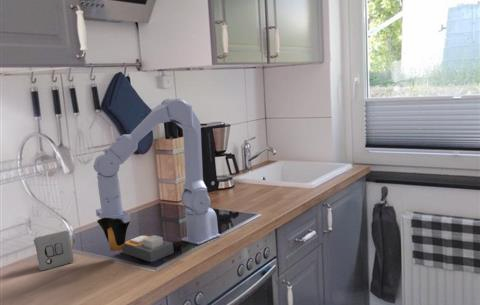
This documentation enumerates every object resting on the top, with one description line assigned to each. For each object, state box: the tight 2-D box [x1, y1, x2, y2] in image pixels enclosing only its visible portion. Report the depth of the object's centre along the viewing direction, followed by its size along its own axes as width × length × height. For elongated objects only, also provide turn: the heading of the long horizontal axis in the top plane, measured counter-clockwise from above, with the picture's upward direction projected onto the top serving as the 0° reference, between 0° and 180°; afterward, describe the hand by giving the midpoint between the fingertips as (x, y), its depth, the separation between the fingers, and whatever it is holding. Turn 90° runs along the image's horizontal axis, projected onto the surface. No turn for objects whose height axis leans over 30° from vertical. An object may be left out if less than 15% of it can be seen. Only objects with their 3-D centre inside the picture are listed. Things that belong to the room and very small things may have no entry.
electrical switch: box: [33, 230, 75, 271], centre depth 130 cm, size 9×5×9 cm, turn 124°
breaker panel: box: [122, 234, 175, 263], centre depth 133 cm, size 8×14×3 cm, turn 48°
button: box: [143, 235, 164, 249], centre depth 130 cm, size 4×4×3 cm
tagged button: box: [129, 235, 148, 245], centre depth 135 cm, size 4×4×3 cm
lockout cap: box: [107, 227, 124, 252], centre depth 130 cm, size 4×4×6 cm
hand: (116, 243), depth 130 cm, fingers closed on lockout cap, 4 cm apart
